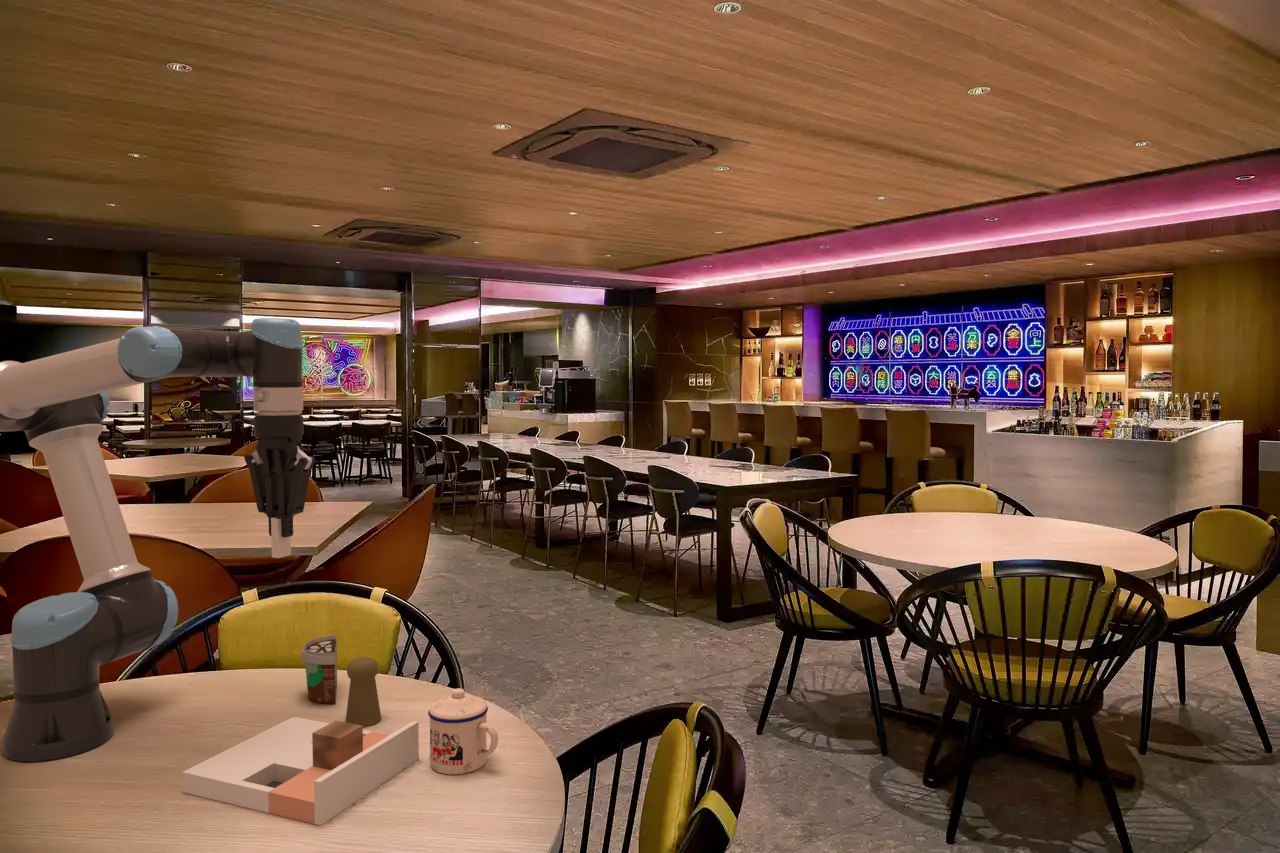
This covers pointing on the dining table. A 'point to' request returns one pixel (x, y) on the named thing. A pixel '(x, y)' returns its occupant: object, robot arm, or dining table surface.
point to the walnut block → (336, 744)
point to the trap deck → (300, 771)
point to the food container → (321, 669)
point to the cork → (363, 692)
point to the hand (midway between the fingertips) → (281, 555)
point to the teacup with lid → (459, 733)
